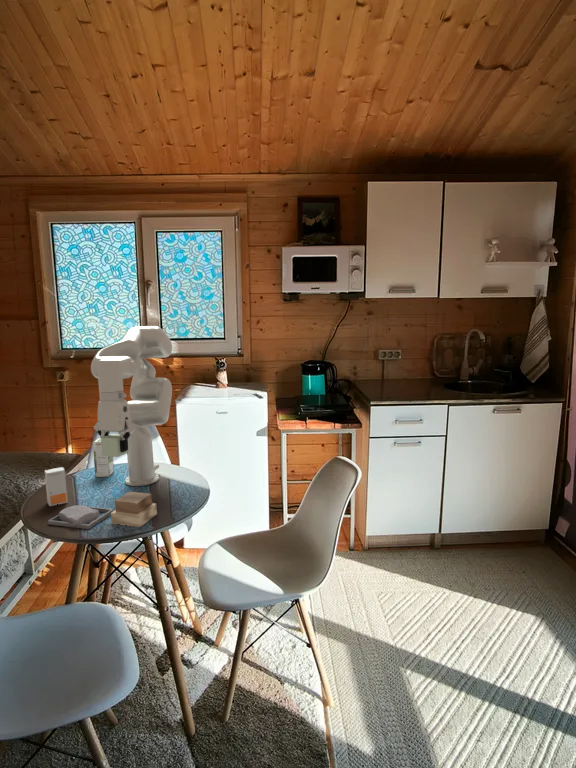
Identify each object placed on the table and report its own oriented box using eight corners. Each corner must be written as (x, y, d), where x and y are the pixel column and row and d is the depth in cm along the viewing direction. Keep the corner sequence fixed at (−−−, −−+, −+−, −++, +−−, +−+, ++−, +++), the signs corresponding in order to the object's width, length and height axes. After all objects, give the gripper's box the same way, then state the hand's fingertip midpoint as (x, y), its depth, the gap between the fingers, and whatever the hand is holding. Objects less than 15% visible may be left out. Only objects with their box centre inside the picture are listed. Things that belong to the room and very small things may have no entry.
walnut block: (130, 501, 167) (130, 491, 167) (152, 504, 165) (151, 493, 164) (115, 511, 160) (114, 500, 159) (137, 514, 157) (136, 503, 157)
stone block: (85, 517, 171) (55, 522, 164) (86, 503, 172) (56, 507, 164) (104, 525, 164) (74, 530, 156) (105, 510, 164) (75, 515, 156)
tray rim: (75, 508, 172) (75, 505, 172) (113, 512, 168) (113, 509, 168) (48, 524, 160) (48, 520, 160) (88, 529, 156) (88, 525, 156)
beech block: (130, 512, 169) (129, 500, 168) (157, 515, 166) (156, 503, 165) (111, 525, 159) (110, 513, 159) (139, 528, 156) (138, 516, 156)
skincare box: (49, 507, 174) (45, 473, 172) (47, 503, 177) (43, 470, 175) (68, 502, 177) (65, 469, 175) (66, 499, 181) (62, 466, 179)
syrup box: (100, 472, 208) (97, 438, 206) (114, 472, 208) (111, 437, 206) (95, 477, 203) (91, 442, 200) (109, 477, 202) (106, 441, 200)
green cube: (114, 451, 172) (112, 433, 171) (129, 452, 170) (127, 434, 169) (102, 455, 166) (100, 437, 165) (117, 456, 164) (116, 438, 164)
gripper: (141, 395, 166) (144, 449, 169) (97, 394, 172) (101, 446, 174) (127, 399, 159) (130, 455, 162) (82, 397, 165) (86, 452, 167)
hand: (115, 450), depth 168 cm, fingers closed on green cube, 6 cm apart
